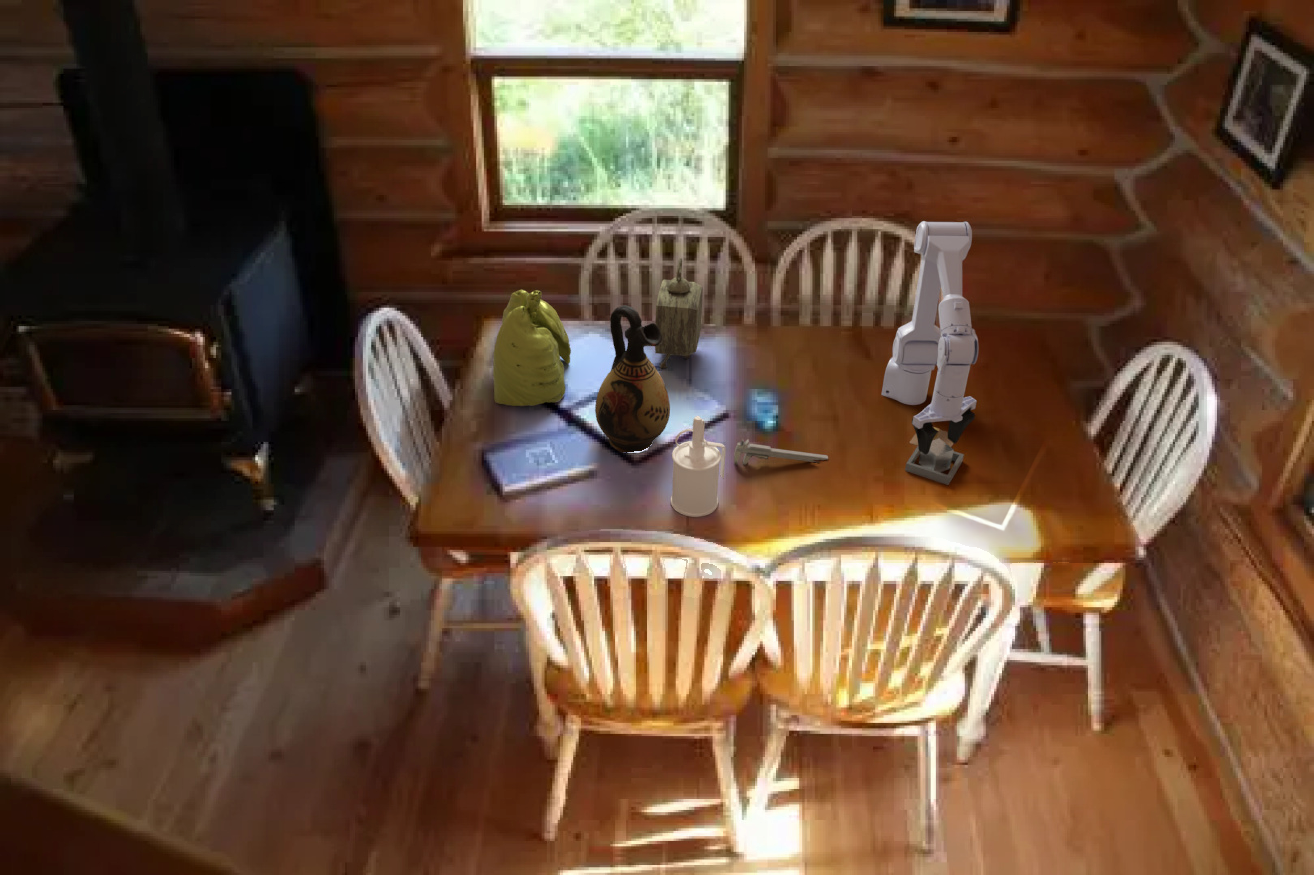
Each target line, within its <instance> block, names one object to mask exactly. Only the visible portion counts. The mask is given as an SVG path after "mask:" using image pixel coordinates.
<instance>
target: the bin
mask: <svg viewBox="0 0 1314 875" xmlns="http://www.w3.org/2000/svg"><path fill="white" fill-rule="evenodd" d="M920 453H921V451H920V450H919V448H918V446H917V445H916V448H915V450H914V451H913V452H912V454H911V456H910V457H909V458H908V459H907V461H906V463H905V468H904V471H905V472H908V473H911V474H913V475H916V476H919V477H923V478H926V479H929V480H932V481H935V482H937V483H940V484H944V485H946V486H947V485H948V486H949V484H950V483H951V481H952V479H954V476H955V475H956V473H957V472H958V469H959V468H960V466H961V465H962V462H963V460H964V456H965V454H964V453H961V452H957V451H953V456H952V460H951V462H952V461H953V462H954V464H953V465H952V467H950V469H949V472H948V474H946V473H944V472H938V471H934V470H931V469H928V468H925V467H922V466H921V465H920V464H916V463H915V462H916V461H917V459H918V458H919V457H920Z"/></svg>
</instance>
